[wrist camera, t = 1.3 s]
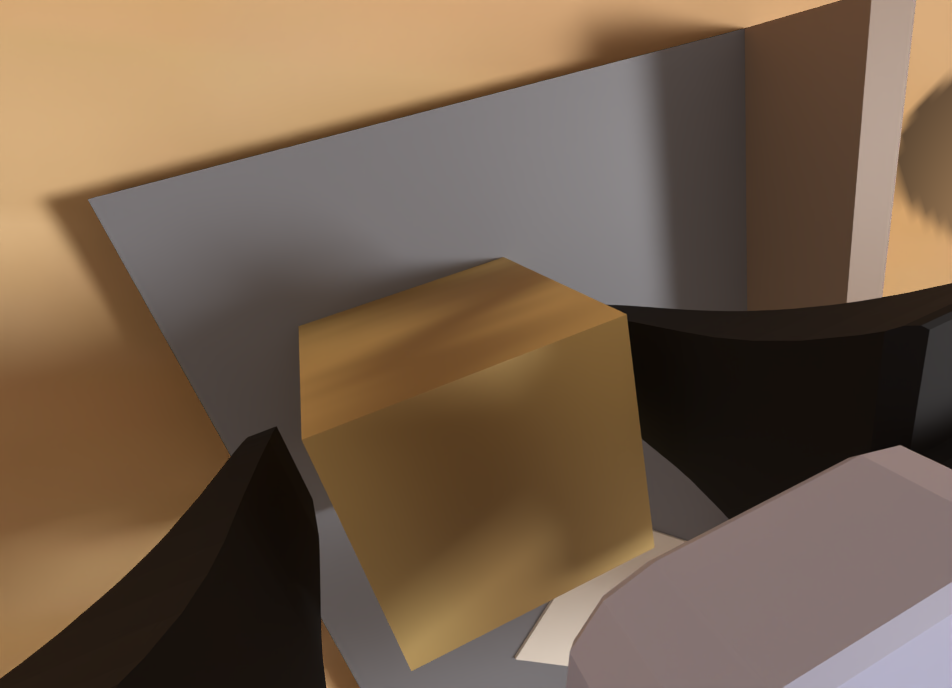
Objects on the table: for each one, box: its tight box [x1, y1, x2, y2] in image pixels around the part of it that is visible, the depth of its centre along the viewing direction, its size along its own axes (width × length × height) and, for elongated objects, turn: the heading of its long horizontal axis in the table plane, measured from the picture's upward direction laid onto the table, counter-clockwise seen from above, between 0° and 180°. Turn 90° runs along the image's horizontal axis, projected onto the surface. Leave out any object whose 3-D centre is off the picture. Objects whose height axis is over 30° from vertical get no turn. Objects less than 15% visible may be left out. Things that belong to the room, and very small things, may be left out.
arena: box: [88, 0, 916, 688], centre depth 15 cm, size 16×24×4 cm, turn 14°
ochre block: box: [299, 257, 655, 671], centre depth 10 cm, size 5×5×5 cm
